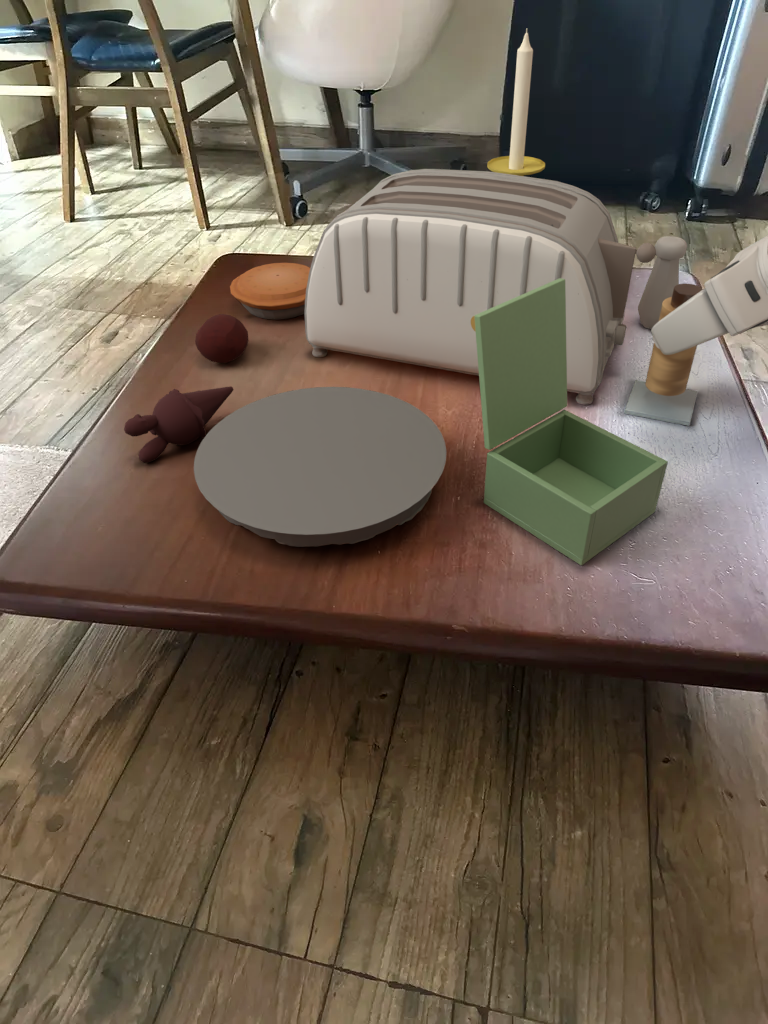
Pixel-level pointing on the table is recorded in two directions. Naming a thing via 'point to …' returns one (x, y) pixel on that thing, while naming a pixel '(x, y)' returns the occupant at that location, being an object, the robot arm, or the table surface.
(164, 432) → the gnome figurine
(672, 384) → the pepper mill
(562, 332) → the box lid
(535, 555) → the table surface
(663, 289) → the salt shaker
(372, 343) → the toaster
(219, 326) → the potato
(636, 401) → the tile
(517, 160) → the candle
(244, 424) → the flat disc
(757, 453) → the table surface
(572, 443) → the green box
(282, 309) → the pie
